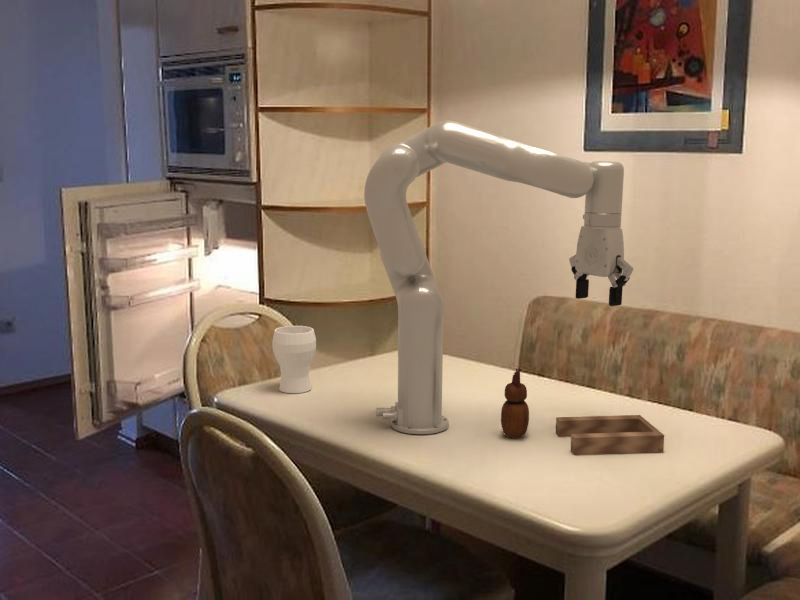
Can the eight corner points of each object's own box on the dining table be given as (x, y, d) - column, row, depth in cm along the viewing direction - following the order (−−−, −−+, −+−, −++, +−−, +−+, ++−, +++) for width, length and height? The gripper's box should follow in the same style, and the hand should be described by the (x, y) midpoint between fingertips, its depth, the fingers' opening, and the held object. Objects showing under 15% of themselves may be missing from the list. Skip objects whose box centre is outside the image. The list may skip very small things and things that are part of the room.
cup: (325, 387, 224) (324, 328, 222) (298, 397, 216) (297, 336, 213) (292, 381, 230) (291, 323, 227) (264, 391, 221) (263, 330, 218)
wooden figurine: (527, 441, 186) (529, 370, 183) (499, 439, 187) (501, 369, 184) (529, 431, 192) (531, 362, 189) (502, 429, 193) (504, 361, 190)
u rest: (574, 455, 178) (574, 437, 177) (555, 433, 191) (556, 417, 190) (663, 452, 180) (664, 435, 179) (639, 430, 193) (639, 414, 192)
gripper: (560, 218, 194) (556, 296, 197) (620, 225, 180) (615, 310, 183) (585, 217, 198) (581, 294, 201) (646, 224, 184) (641, 306, 187)
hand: (598, 301), depth 192 cm, fingers open, 9 cm apart
